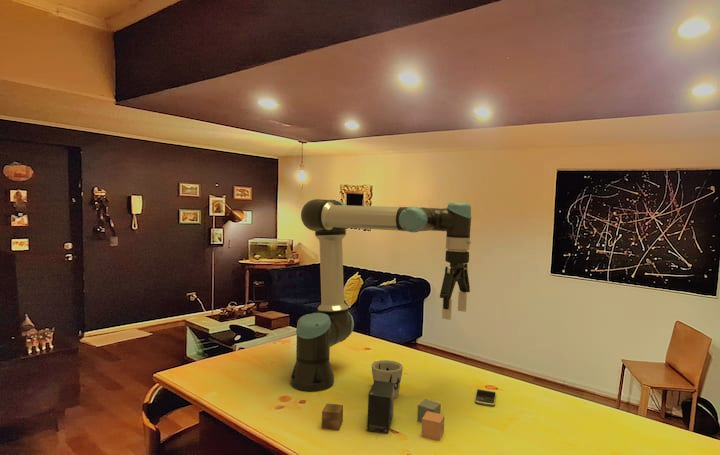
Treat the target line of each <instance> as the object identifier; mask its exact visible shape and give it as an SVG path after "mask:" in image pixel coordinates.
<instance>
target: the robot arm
mask: <svg viewBox="0 0 720 455" xmlns="http://www.w3.org/2000/svg"><path fill="white" fill-rule="evenodd" d="M300 219H301V223H302V224H303V225H304V227H306V229H308V230H309V231H313V232H314V236H315V238H317V240H319V242H318V243H319V264H320V265H319V269H320V271H319V272H320V294H321V295H320V298H321V299H320V300H321V304H319V306H318V307H317V312H312V313H307V314H304V315H302V316H300V317H299V318H298V320H297V325H296V330H295V331H296V346H295V347H296V350H295V351H296V352H295V353H296V354H295V355H296V358H295V364H294V367H293V369H292V373H291V375H290V385H291V386H292V387H293V388H294V389H296V388H297V389H296V390H298V389H299V390H298V391H302V390H304V391H303V392H318V391H319V392H320V391H325V390H327V389H329V388H331V387H332V386H334V384H335V374H334V371H333V369H332V364H331V362H330V360H331V359H330V354H331V353H330V351H331V348H332V347H333V346H335V345H338V343H342V342H343V341H345V340H346V339H348V338H349V337H350V336H351V334H352V333H353V331H354V327H355V322H354V318H353V315H352V314H351V312H349V306H348V305H347V303H345V291H344V290H345V289H344V261H343V254H344V253H343V239H344V238H345V237H346V236H347V229H357V230H359V229H361V230H377V231H378V230H380V231H401V232H408V233H418V232H426V231H427V232H428V231H433V232H434V231H435V232H446V235H445V236H446V237H445V249H447V250H446V251H445V262H446V263H449V266H445V269H444V275H443V280H442V283H441V284H442V285H441V289H440V294H439V298H440V299H442V311H441V313H442V314H441V318H442V320H449V321H451V320H452V308H453V306H452V305H453V299H452V295H453V292H454V288H455V286H456V282H457V285H458V289H459V291H458V297H457V298H458V299H457V300H458V301H457V311H458V312H463V313H466V312H467V301H468V293H470V291H471V286H470V280H469V273H468V272H469V271H468V263H469V262H470V252H469V250H470V245H471V244H472V240H471V241H470V239H471V228H472V227H471V225H472V206H471V204H469V203H467V202H448V204H447V207H446V208H440V207H439V208H437V207H422V206H421V207H418V206H408V207H407V206H381V205H380V206H378V205H375V206H374V205H348V204H347V205H346V204H345V203H343V202H342V201H340V200H339V201H338V200H336V199H320V198H319V199H317V198H316V199H312V200H309V201H307V202H306V203H305V204H304V205H303V207H302V208H301V211H300Z"/></svg>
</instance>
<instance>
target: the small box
mask: <svg viewBox="0 0 720 455" xmlns="http://www.w3.org/2000/svg"><path fill="white" fill-rule="evenodd" d="M394 400H395V398H394V383H391V382H383V381H376V380H375V381H374V382H373V383H372V385H371V388H370V389H369V392H368V397H367V421H366V431H368V432H375V433H382V434H389V431H390V428H391V424H392V421H393V418H394V404H395V401H394Z"/></svg>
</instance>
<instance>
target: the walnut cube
mask: <svg viewBox="0 0 720 455" xmlns="http://www.w3.org/2000/svg"><path fill="white" fill-rule="evenodd" d="M343 422H344V405H343V404H336V403H329V402H328V403H325V405H324V407H323V409H322V411H321V429H323V430H329V431H330V430H333V431H340V429H341V427H342V424H343Z"/></svg>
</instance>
